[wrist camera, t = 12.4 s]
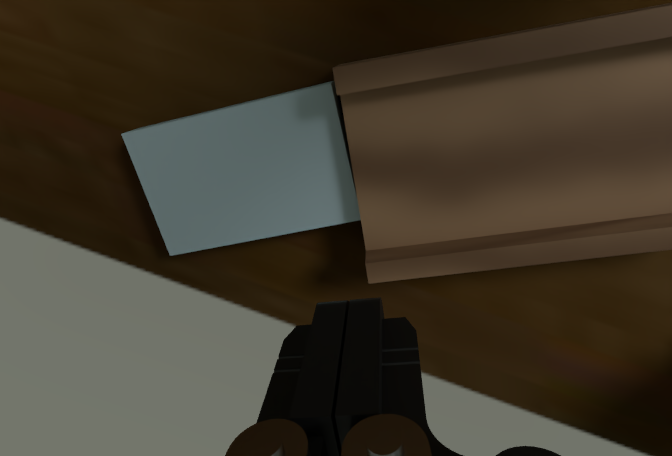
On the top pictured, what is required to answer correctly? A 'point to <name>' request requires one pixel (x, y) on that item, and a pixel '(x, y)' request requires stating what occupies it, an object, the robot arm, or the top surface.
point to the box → (514, 147)
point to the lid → (247, 170)
